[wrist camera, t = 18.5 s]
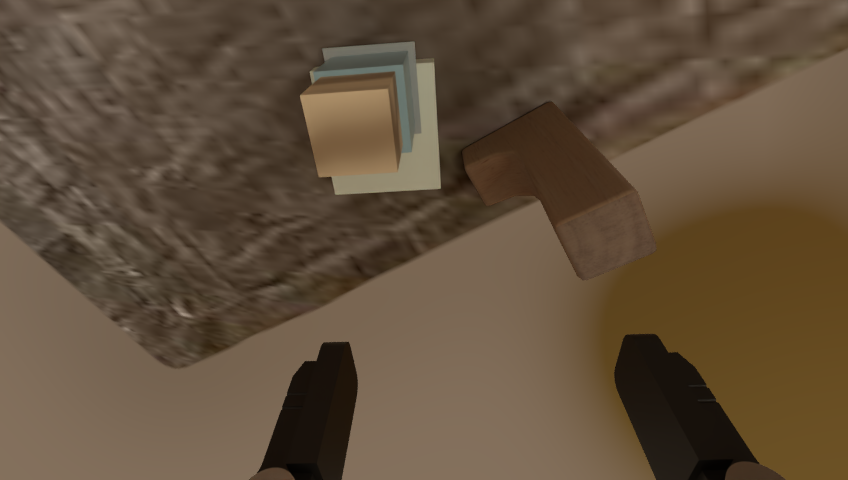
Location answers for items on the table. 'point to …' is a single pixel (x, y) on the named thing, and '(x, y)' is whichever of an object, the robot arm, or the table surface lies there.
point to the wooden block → (564, 188)
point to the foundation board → (424, 159)
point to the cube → (375, 65)
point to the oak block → (354, 124)
